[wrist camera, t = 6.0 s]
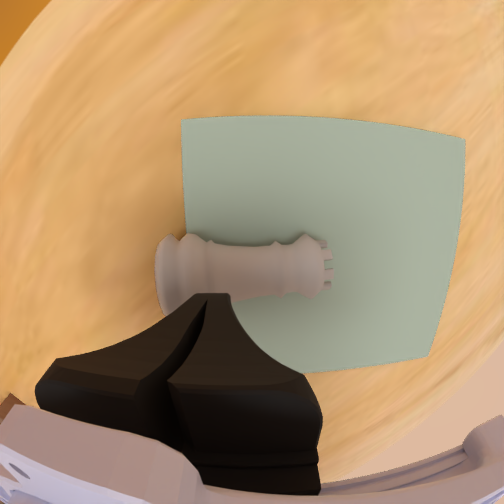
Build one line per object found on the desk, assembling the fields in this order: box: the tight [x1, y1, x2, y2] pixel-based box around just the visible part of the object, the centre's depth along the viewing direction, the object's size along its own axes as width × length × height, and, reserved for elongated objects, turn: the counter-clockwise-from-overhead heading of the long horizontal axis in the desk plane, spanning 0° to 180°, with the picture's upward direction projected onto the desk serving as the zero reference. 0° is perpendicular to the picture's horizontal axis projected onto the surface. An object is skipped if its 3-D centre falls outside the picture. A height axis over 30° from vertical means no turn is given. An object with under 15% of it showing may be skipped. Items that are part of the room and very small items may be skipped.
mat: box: [181, 116, 465, 373], centre depth 17 cm, size 16×17×1 cm
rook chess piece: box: [155, 233, 334, 316], centre depth 14 cm, size 4×4×8 cm
